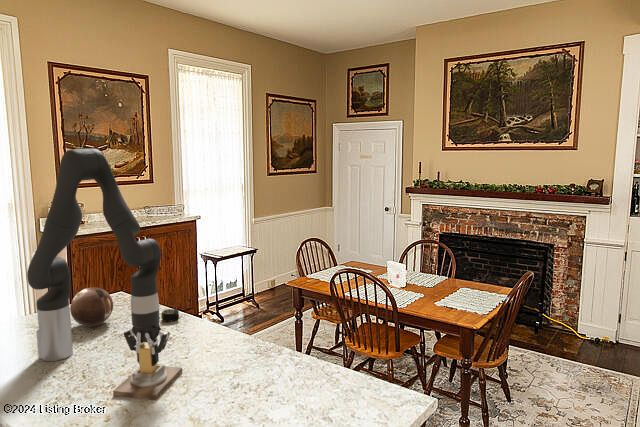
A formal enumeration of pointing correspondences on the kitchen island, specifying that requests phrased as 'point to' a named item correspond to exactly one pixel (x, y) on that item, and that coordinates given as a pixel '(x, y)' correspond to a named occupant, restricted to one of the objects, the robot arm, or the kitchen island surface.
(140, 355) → the yellow rectangular block
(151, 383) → the rosette socket
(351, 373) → the kitchen island surface
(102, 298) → the wooden sphere
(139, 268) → the robot arm
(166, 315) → the tape measure
